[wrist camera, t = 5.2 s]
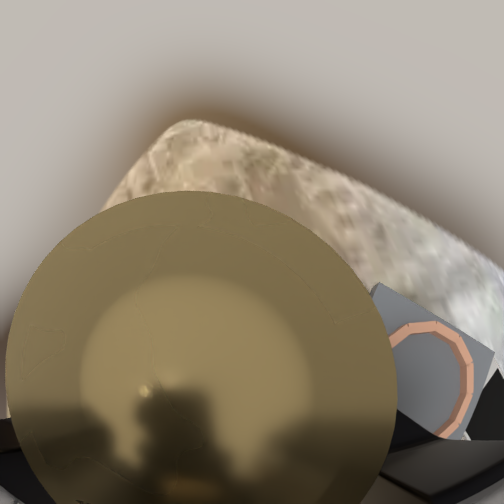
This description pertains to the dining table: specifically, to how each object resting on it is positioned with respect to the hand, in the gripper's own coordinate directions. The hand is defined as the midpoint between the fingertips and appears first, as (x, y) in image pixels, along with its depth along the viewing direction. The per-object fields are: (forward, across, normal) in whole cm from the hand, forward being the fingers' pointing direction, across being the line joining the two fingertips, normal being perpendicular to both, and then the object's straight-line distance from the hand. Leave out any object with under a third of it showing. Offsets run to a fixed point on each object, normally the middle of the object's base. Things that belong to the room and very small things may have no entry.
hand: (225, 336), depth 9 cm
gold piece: (+4, 0, +6) cm, 7 cm away
